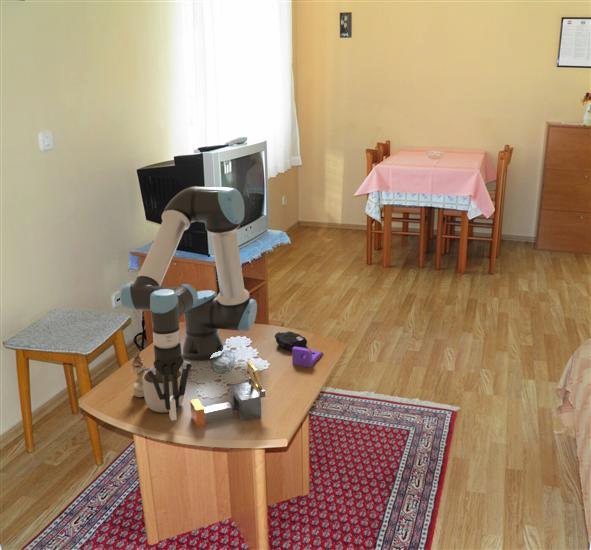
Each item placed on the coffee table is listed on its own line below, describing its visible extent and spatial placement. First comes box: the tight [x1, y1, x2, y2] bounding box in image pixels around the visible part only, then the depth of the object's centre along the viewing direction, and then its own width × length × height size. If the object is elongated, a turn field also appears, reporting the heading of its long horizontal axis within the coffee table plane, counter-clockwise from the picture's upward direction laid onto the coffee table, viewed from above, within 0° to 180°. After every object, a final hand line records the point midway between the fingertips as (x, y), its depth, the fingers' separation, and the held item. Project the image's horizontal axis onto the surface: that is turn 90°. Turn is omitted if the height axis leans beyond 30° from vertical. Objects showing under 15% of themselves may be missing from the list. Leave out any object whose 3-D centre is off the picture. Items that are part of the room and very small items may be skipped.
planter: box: [142, 368, 185, 414], centre depth 205 cm, size 12×12×11 cm
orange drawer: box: [189, 398, 234, 429], centre depth 198 cm, size 11×7×6 cm, turn 114°
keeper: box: [246, 360, 263, 393], centre depth 200 cm, size 8×1×8 cm, turn 24°
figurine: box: [130, 352, 149, 398], centre depth 213 cm, size 7×7×15 cm
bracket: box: [291, 346, 324, 368], centre depth 237 cm, size 12×7×7 cm, turn 156°
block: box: [230, 376, 266, 422], centre depth 202 cm, size 11×8×8 cm
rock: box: [274, 331, 308, 351], centre depth 247 cm, size 10×9×6 cm
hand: (173, 418), depth 193 cm, fingers closed
